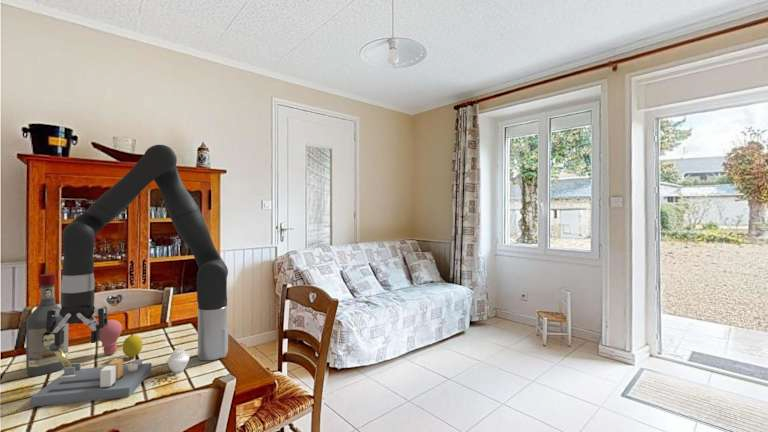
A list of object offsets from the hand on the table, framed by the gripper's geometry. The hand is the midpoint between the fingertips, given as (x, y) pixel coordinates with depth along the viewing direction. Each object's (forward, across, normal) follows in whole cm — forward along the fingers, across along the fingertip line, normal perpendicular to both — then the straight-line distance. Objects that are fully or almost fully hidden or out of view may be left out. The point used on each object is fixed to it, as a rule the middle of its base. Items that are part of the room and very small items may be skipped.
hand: (77, 343), depth 105 cm
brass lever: (+8, +2, 0) cm, 8 cm away
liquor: (+11, +13, -11) cm, 20 cm away
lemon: (+11, -9, -14) cm, 20 cm away
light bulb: (+11, 0, -20) cm, 23 cm away
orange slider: (+8, -13, +7) cm, 17 cm away
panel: (+11, -8, +6) cm, 15 cm away
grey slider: (+8, -13, +11) cm, 19 cm away
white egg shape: (+11, -27, 0) cm, 29 cm away
